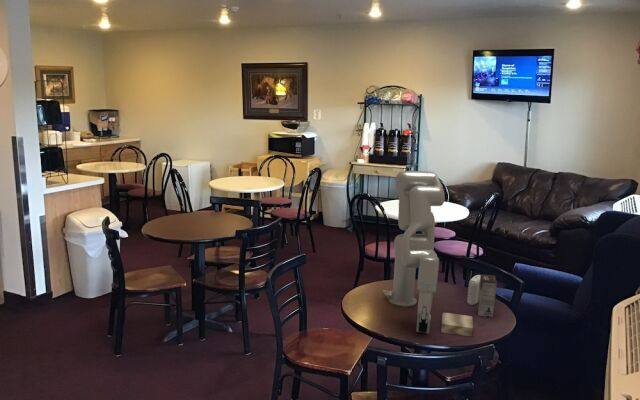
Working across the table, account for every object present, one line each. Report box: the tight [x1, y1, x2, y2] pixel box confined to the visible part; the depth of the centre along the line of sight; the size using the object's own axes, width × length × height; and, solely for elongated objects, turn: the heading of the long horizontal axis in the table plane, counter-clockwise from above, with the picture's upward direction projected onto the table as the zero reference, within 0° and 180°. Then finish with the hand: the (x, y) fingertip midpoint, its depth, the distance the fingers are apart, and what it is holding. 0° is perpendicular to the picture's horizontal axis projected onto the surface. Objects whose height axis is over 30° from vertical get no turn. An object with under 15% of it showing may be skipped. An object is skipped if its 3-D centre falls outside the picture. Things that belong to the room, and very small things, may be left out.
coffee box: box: [476, 274, 498, 318], centre depth 243 cm, size 9×6×16 cm
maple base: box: [440, 312, 474, 337], centre depth 227 cm, size 12×12×4 cm
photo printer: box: [466, 274, 481, 306], centre depth 255 cm, size 10×4×12 cm, turn 140°
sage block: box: [416, 313, 432, 334], centre depth 223 cm, size 5×5×6 cm
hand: (423, 328), depth 223 cm, fingers closed on sage block, 5 cm apart
